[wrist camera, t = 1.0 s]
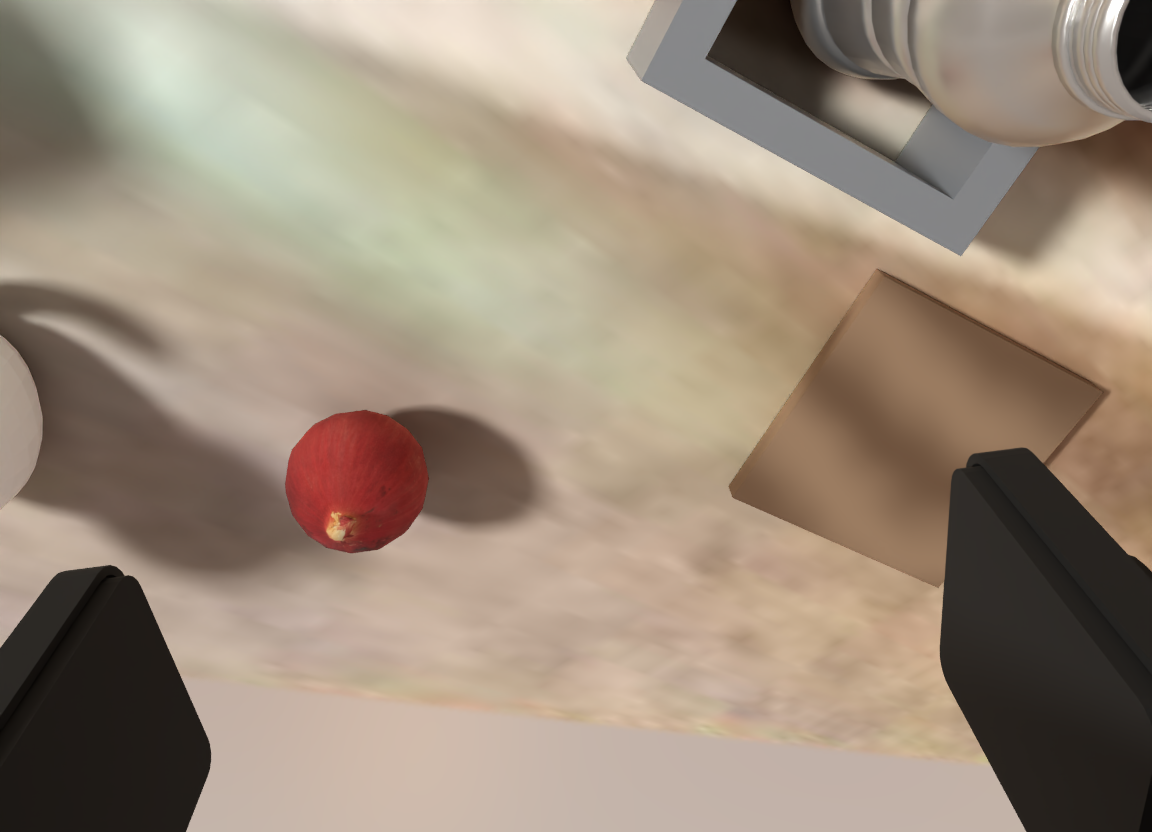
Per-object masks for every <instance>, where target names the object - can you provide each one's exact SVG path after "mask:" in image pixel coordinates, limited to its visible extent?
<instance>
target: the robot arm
mask: <svg viewBox="0 0 1152 832" xmlns="http://www.w3.org/2000/svg"><path fill="white" fill-rule="evenodd" d="M940 660H941V666H942V670H943V674H944V677H945V679H946V682H947V684H948V686H949V688H950V690H951V692H952V693H953V695H954V697H955V699H956V701H957V703H958V705H959V707H960V708H961V710H962V712H963V714H964V716H965V718H966V720H967V722H968V723H969V725H970V727H971V729H972V731H973V733H974V735H975V736H976V738H977V740H978V742H979V744H980V746H981V748H982V750H983V751H984V753H985V755H986V757H987V759H988V761H989V763H990V765H991V766H992V768H993V770H994V772H995V774H996V776H997V778H998V779H999V781H1000V783H1001V785H1002V787H1003V789H1004V791H1005V792H1006V794H1007V796H1008V798H1009V800H1010V802H1011V804H1012V806H1013V807H1014V809H1015V811H1016V813H1017V815H1018V817H1019V819H1020V820H1021V822H1022V824H1023V826H1024V828H1025V830H1026V832H1152V572H1151V571H1150V570H1149V569H1148V567H1147V566H1145V565H1144V564H1143V563H1142V562H1141V561H1139V560H1138V559H1137V558H1136V557H1133V556H1130V555H1128V554H1127V553H1126V552H1125V551H1124V550H1123V549H1122V548H1121V547H1120V546H1119V544H1118V543H1117V542H1116V541H1115V540H1114V539H1113V538H1112V537H1111V536H1110V535H1109V534H1108V533H1107V532H1106V531H1105V529H1104V528H1103V527H1102V526H1101V525H1100V524H1099V523H1098V522H1097V521H1096V520H1095V519H1094V518H1093V517H1092V515H1091V514H1090V513H1089V512H1088V511H1087V510H1086V509H1085V508H1084V507H1083V506H1082V505H1081V504H1080V503H1079V502H1078V500H1077V499H1076V498H1075V497H1074V496H1073V495H1072V494H1071V493H1070V492H1069V491H1068V490H1067V489H1066V488H1065V487H1064V485H1063V484H1062V483H1061V482H1060V481H1059V480H1058V479H1057V478H1056V477H1055V476H1054V475H1053V474H1052V473H1051V471H1050V470H1049V469H1048V468H1047V467H1046V466H1045V465H1044V464H1043V463H1042V462H1041V461H1040V460H1039V459H1038V458H1037V456H1036V455H1035V454H1034V453H1033V452H1032V451H1030V450H1029V449H1028V448H1023V447H1021V448H1013V449H1005V450H997V451H990V452H982V453H974V454H972V455H971V456H970V457H969V459H968V461H967V464H966V468H959V469H956V470H955V471H954V472H953V474H952V479H951V490H950V505H949V520H948V534H947V549H946V564H945V579H944V594H943V609H942V623H941V638H940ZM210 763H211V749H210V743H209V740H208V738H207V735H206V733H205V731H204V728H203V726H202V724H201V722H200V719H199V717H198V715H197V713H196V710H195V708H194V706H193V703H192V701H191V699H190V697H189V695H188V692H187V690H186V688H185V685H184V683H183V681H182V679H181V676H180V674H179V672H178V669H177V667H176V665H175V663H174V660H173V658H172V656H171V654H170V651H169V649H168V647H167V645H166V642H165V640H164V638H163V635H162V633H161V631H160V629H159V626H158V624H157V622H156V620H155V617H154V615H153V613H152V611H151V608H150V606H149V604H148V601H147V599H146V597H145V595H144V592H143V590H142V588H141V586H140V584H139V582H138V581H137V580H136V579H135V578H134V577H133V576H129V575H128V576H124V574H123V573H122V571H121V570H119V569H118V568H117V567H115V566H111V565H108V566H100V567H92V568H85V569H77V570H69V571H63V572H60V573H58V574H57V575H56V576H55V577H54V578H53V579H52V580H51V581H50V582H49V584H48V585H47V586H46V588H45V589H44V590H43V592H42V593H41V594H40V596H39V597H38V598H37V600H36V601H35V602H34V604H33V605H32V606H31V608H30V609H29V610H28V612H27V613H26V614H25V616H24V617H23V619H22V620H21V621H20V623H19V624H18V625H17V627H16V628H15V629H14V631H13V632H12V633H11V635H10V636H9V637H8V639H7V640H6V641H5V643H4V644H3V645H2V647H1V648H0V832H186V830H187V827H188V825H189V822H190V820H191V817H192V815H193V812H194V809H195V807H196V804H197V802H198V799H199V797H200V794H201V792H202V789H203V786H204V784H205V781H206V779H207V776H208V773H209V770H210Z"/></svg>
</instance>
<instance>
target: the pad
mask: <svg viewBox="0 0 1152 832" xmlns="http://www.w3.org/2000/svg"><path fill="white" fill-rule="evenodd" d="M1102 393H1103V392H1102V391H1101V390H1100V389H1099V388H1097V387H1096V386H1095V385H1094V384H1092V383H1091V382H1089V381H1087V380H1085V379H1083V378H1082V377H1080V376H1078V375H1076V374H1074V373H1072V372H1070V371H1068V370H1067V369H1065V368H1063V367H1061V366H1059V365H1057V364H1055V363H1053V362H1051V361H1050V360H1048V359H1046V358H1044V357H1042V356H1040V355H1038V354H1036V353H1034V352H1033V351H1031V350H1029V349H1027V348H1025V347H1023V346H1021V345H1019V344H1017V343H1016V342H1014V341H1012V340H1010V339H1008V338H1006V337H1004V336H1002V335H1001V334H999V333H997V332H995V331H993V330H991V329H989V328H987V327H985V326H984V325H982V324H980V323H978V322H976V321H974V320H972V319H970V318H968V317H967V316H965V315H963V314H961V313H959V312H957V311H955V310H953V309H951V308H950V307H948V306H946V305H944V304H942V303H940V302H938V301H936V300H935V299H933V298H931V297H929V296H927V295H925V294H923V293H921V292H919V291H918V290H916V289H914V288H912V287H910V286H908V285H906V284H904V283H902V282H901V281H899V280H897V279H895V278H893V277H891V276H889V275H887V274H886V273H884V272H882V271H880V270H878V269H876V271H875V272H874V274H873V275H872V277H871V278H870V280H869V281H868V283H867V284H866V286H865V287H864V288H863V290H862V291H861V293H860V294H859V296H858V297H857V299H856V300H855V302H854V303H853V305H852V306H851V308H850V309H849V310H848V312H847V313H846V315H845V316H844V318H843V319H842V321H841V322H840V324H839V325H838V327H837V328H836V330H835V331H834V332H833V334H832V335H831V337H830V338H829V340H828V341H827V343H826V344H825V346H824V347H823V349H822V350H821V352H820V353H819V355H818V356H817V357H816V359H815V360H814V362H813V363H812V365H811V366H810V368H809V369H808V371H807V372H806V374H805V375H804V377H803V378H802V379H801V381H800V382H799V384H798V385H797V387H796V388H795V390H794V391H793V393H792V394H791V396H790V397H789V399H788V400H787V401H786V403H785V404H784V406H783V407H782V409H781V410H780V412H779V413H778V415H777V416H776V418H775V419H774V421H773V422H772V423H771V425H770V426H769V428H768V429H767V431H766V432H765V434H764V435H763V437H762V438H761V440H760V441H759V443H758V444H757V446H756V447H755V448H754V450H753V451H752V453H751V454H750V456H749V457H748V459H747V460H746V462H745V463H744V465H743V466H742V468H741V469H740V470H739V472H738V473H737V475H736V476H735V478H734V479H733V481H732V482H731V484H730V485H729V489H730V491H731V494H732V497H733V498H735V499H737V500H739V501H742V502H744V503H746V504H748V505H751V506H753V507H755V508H757V509H760V510H762V511H764V512H767V513H769V514H771V515H773V516H776V517H778V518H780V519H783V520H785V521H787V522H789V523H792V524H794V525H796V526H798V527H801V528H803V529H805V530H808V531H810V532H812V533H814V534H817V535H819V536H821V537H824V538H826V539H828V540H830V541H833V542H835V543H837V544H840V545H842V546H844V547H846V548H849V549H851V550H853V551H855V552H858V553H860V554H862V555H865V556H867V557H869V558H871V559H874V560H876V561H878V562H881V563H883V564H885V565H887V566H890V567H892V568H894V569H896V570H899V571H901V572H903V573H906V574H908V575H910V576H912V577H915V578H917V579H919V580H922V581H924V582H926V583H928V584H931V585H933V586H935V587H939V586H940V585H941V584H942V583H943V582H944V579H945V564H946V549H947V534H948V520H949V505H950V490H951V479H952V474H953V472H954V471H955V470H956V469H959V468H966V464H967V461H968V459H969V457H970V456H971V455H972V454H974V453H982V452H990V451H997V450H1005V449H1013V448H1021V447H1023V448H1028V449H1029V450H1030V451H1032V452H1033V453H1034V454H1035V455H1036V456H1037V458H1038V459H1039V460H1040V461H1041V462H1042V463H1044V462H1045V461H1046V460H1047V458H1048V457H1049V456H1050V455H1051V454H1052V452H1053V451H1054V450H1055V449H1056V448H1057V446H1058V445H1059V444H1060V443H1061V442H1062V441H1063V439H1064V438H1065V437H1066V436H1067V435H1068V433H1069V432H1070V431H1071V430H1072V429H1073V428H1074V426H1075V425H1076V424H1077V423H1078V422H1079V420H1080V419H1081V418H1082V417H1083V416H1084V414H1085V413H1086V412H1087V411H1088V410H1089V409H1090V407H1091V406H1092V405H1093V404H1094V403H1095V401H1096V400H1097V399H1098V398H1099V397H1100V396H1101V394H1102Z"/></svg>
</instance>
